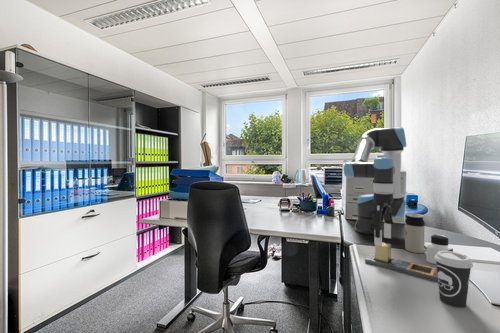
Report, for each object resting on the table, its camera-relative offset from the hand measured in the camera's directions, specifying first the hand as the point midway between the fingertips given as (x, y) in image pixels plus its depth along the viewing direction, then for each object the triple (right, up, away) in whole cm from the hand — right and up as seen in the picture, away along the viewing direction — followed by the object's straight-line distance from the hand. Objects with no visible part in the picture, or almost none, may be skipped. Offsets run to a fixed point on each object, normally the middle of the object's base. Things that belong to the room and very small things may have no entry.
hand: (383, 241), depth 108 cm
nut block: (0, -10, 0) cm, 10 cm away
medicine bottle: (+25, -10, 0) cm, 27 cm away
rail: (+5, -10, -4) cm, 12 cm away
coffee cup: (+7, -11, -29) cm, 32 cm away
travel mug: (+24, -10, +15) cm, 30 cm away
